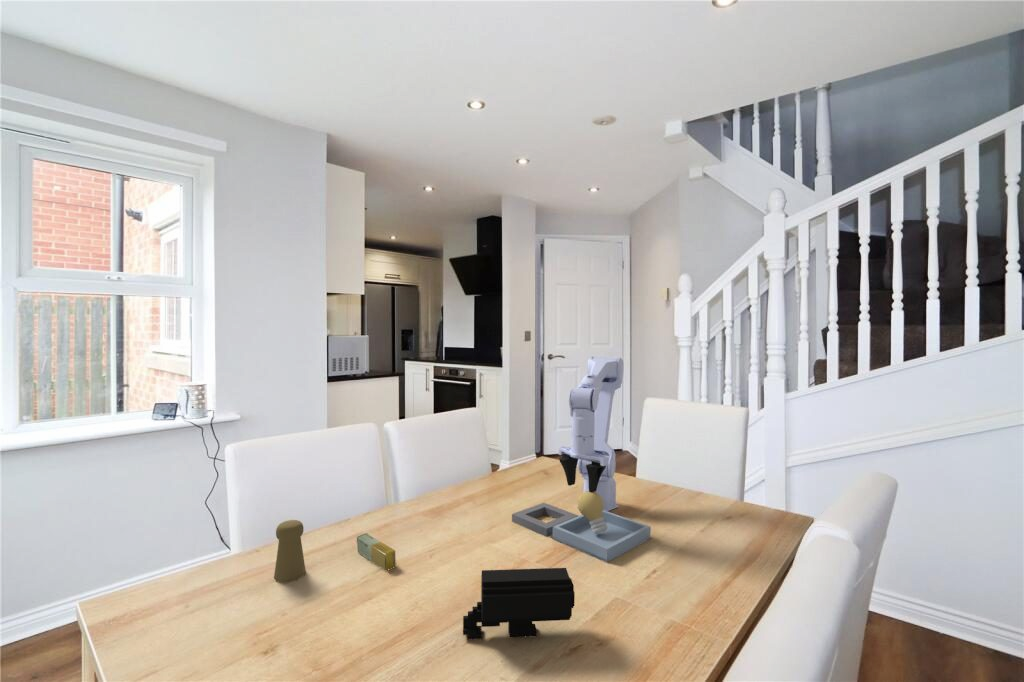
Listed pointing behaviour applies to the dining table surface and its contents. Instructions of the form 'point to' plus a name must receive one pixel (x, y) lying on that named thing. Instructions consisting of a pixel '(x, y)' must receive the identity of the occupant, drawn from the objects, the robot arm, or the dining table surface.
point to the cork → (289, 552)
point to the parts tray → (602, 535)
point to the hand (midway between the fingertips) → (581, 488)
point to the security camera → (521, 600)
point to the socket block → (529, 515)
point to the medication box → (376, 551)
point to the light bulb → (592, 510)
